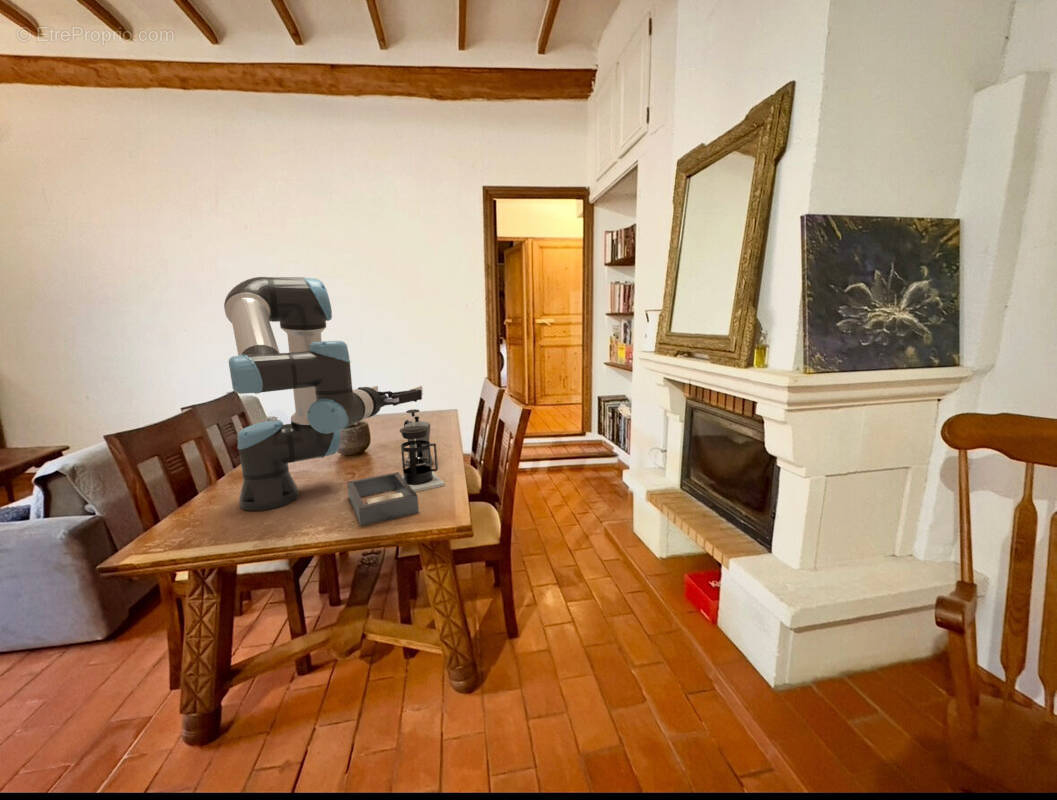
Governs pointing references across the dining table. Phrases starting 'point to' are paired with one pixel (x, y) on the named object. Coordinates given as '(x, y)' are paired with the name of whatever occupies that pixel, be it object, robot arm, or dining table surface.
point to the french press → (418, 468)
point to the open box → (383, 508)
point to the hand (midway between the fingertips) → (398, 390)
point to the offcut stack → (383, 498)
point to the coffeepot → (419, 423)
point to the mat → (428, 484)
